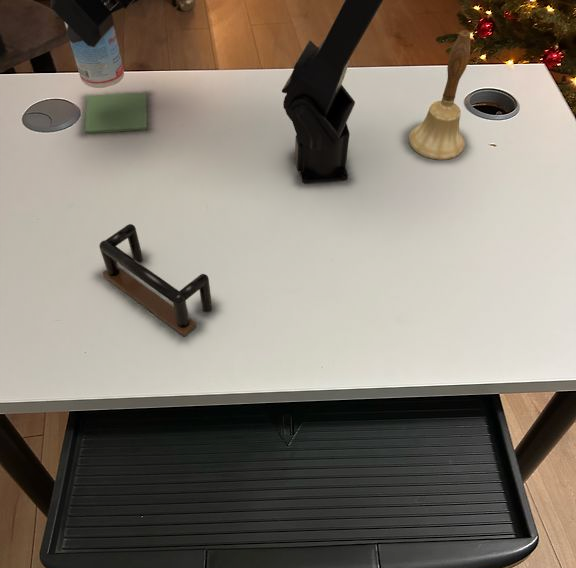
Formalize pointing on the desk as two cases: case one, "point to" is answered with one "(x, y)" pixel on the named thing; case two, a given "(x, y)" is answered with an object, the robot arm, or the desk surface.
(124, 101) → the felt mat
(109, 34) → the pill bottle
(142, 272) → the rail rack
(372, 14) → the robot arm
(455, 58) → the hand bell
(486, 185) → the desk surface
